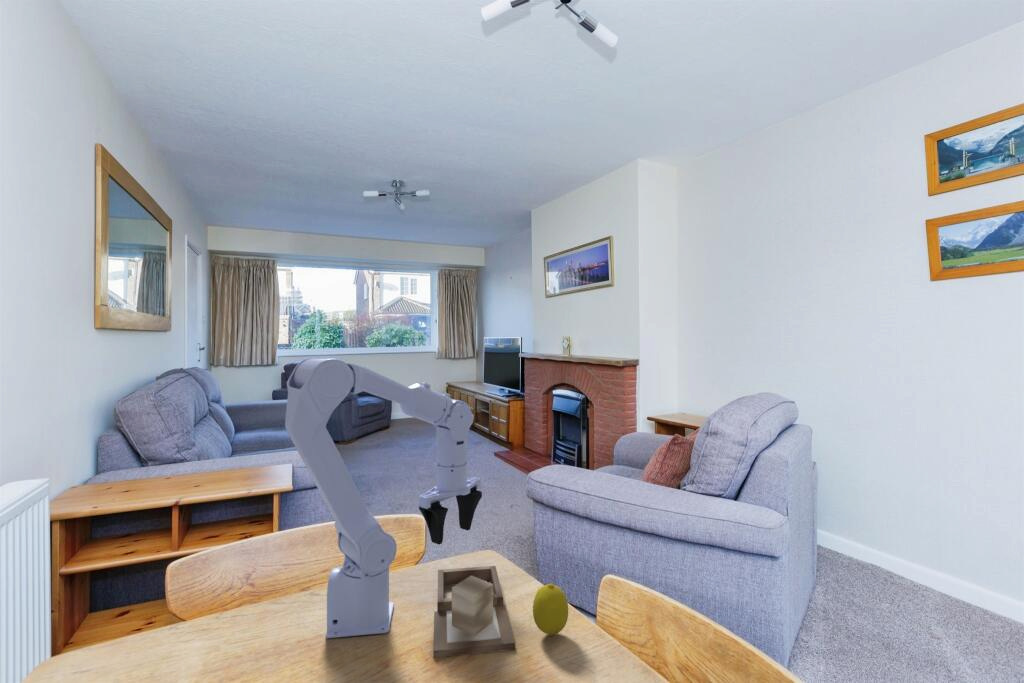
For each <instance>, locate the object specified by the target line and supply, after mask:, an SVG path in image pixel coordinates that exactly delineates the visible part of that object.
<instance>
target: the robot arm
mask: <svg viewBox="0 0 1024 683" xmlns="http://www.w3.org/2000/svg"><path fill="white" fill-rule="evenodd" d="M286 388H287V400H286V401H287V402H286V411H285V420H284V427H285V431H286V432H287V434H288V436H289V438H290V440H291V441H292V443H293V446H294V447H295V449H296V451H297V453H298V454H299V456H300V458H301V460H302V462H303V464H304V465H305V468H306V469H307V471H308V472H309V475H310V477H311V479H312V480H313V483H314V484H315V486H316V488H317V489H318V492H319V493H320V495H321V497H322V499H323V501H324V502H325V504H326V507H327V509H328V510H329V512H330V514H331V516H332V517H333V520H334V524H333V526H334V528H335V530H336V533H337V546H338V549H339V551H340V552H341V553H342V554H343V555H344V561H343V565H342V566H338V567H333V568H332V569H331V570H330V572H329V578H328V580H327V591H326V632H325V638H326V639H333V638H342V637H343V638H344V637H354V636H364V635H365V636H366V635H376V634H378V635H379V634H387V633H388V632H389V631H390V628H391V623H392V616H393V612H394V611H393V610H394V602H392V601H390V566H391V565H392V563H393V561H394V560H395V557H396V555H397V550H398V548H397V546H398V545H397V542H396V539H395V538H394V537H393V535H391V534H390V533H388V532H387V531H385V530H384V529H383V528H382V525H381V524H380V522H379V521H378V520H377V519H376V517H375V516H374V515H373V513H372V512H371V511H370V510H369V509H368V507H367V505H366V503H365V500H364V499H363V497H362V495H361V493H360V491H359V489H358V487H357V485H356V483H355V481H354V479H353V477H352V476H351V474H350V472H349V469H348V468H347V466H346V464H345V462H344V459H343V458H342V455H341V454H340V451H339V450H338V448H337V445H336V444H335V442H334V440H333V438H332V436H331V435H330V433H329V430H328V428H327V424H328V422H329V419H330V417H331V415H332V414H333V412H334V410H335V409H336V408H338V406H339V405H341V403H342V402H343V401H344V400H345V398H346V397H347V396H348V395H349V394H352V395H357V394H360V393H362V392H365V393H368V394H370V395H374V396H375V397H379V398H382V399H385V400H388V401H391V402H394V403H397V404H399V406H400V408H401V411H402V413H403V414H404V415H406V416H410V417H413V418H415V419H418V420H420V421H423V422H425V423H428V424H431V425H433V426H434V427H435V429H436V440H435V441H436V445H435V446H436V449H435V450H436V456H435V457H436V458H435V460H436V463H435V465H436V466H435V467H436V468H435V469H436V470H435V471H436V474H435V476H436V479H435V480H436V481H435V483H436V485H435V486H433V487H432V488H431V489H429V490H427V491H426V492H425V493H423V494H420V495H419V496H418V509H419V511H420V513H421V514H422V516H423V518H424V521H425V523H426V526H427V528H428V532H429V536H430V540H431V543H434V544H436V545H439V546H440V545H441V544H442V545H443V540H444V526H445V521H446V516H447V513H448V512H449V511H448V510H449V508H447V507H444V506H442V503H441V502H444V501H447V500H448V499H452V498H453V497H455V499H456V503H457V508H458V523H459V528H460V529H462V530H465V531H470V530H471V527H472V524H473V518H474V515H475V512H476V510H477V507H478V504H479V503H480V501H481V499H482V497H483V492H482V491H481V490H478V489H481V477H476V476H471V477H468V437H469V431H470V428H471V426H473V422H474V418H475V415H474V414H473V413H472V410H471V407H470V406H469V404H468V403H467V402H466V401H463V400H458V399H453V398H452V397H451V394H450V393H447V392H443V393H441V392H439V391H437V390H435V389H432V388H431V384H429V383H428V382H427V383H426V382H421V383H413V384H411V385H408V386H406V385H404V384H402V383H400V382H398V381H395V380H393V379H391V378H389V377H387V376H385V375H383V374H380V373H378V372H376V371H374V370H371V369H369V368H366V367H364V366H361V365H359V364H358V365H357V364H354V363H350V362H346V361H343V360H341V359H338V358H327V359H326V358H320V357H313V356H312V357H307V358H306V357H305V358H304V359H302V360H301V361H299V362H298V363H297V364H296V366H295V367H294V368H293V371H292V372H291V374H290V375H289V377H288V380H287V381H286Z"/></svg>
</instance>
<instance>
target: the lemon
mask: <svg viewBox="0 0 1024 683" xmlns="http://www.w3.org/2000/svg"><path fill="white" fill-rule="evenodd" d="M532 615H533V616H532V617H533V621H534V623H535V625H536V626H537V628H538V629H539V630H540V631H541V632H542V633H543V634H545V635H548V636H549V637H552V636H554V635H556V634H558V633H561V632H562V631H563V630H564V628H565V626H566V625H567V622H568V619H569V603H568V600H567V596H566V594H565V593H564V591H563V590H562V589H561V587H559V586H558V585H555V584H553V583H548V584H545V585H542V586H541V587H540V588H539V589H538V590H537V592H535V596H534V599H533V603H532Z"/></svg>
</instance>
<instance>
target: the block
mask: <svg viewBox="0 0 1024 683" xmlns="http://www.w3.org/2000/svg"><path fill="white" fill-rule="evenodd" d="M451 598H452V626H454V627H456V628H458V629H460V630H462V631H464V632H466V633H467V634H469V635H471V636H473V637H474V636H475V635H477V634H478V633H479V632H481V631H482V630H483V629H484V628H486V627H487V626H488V625H490V624H491V623H492V622H493V584H491V582H486V581H484V580H481V579H479V578H476V577H474V576H470V577H468V578H466V579H465V580H463V581H461V582H460V583H458V584H455V585H454V586H453V585H452V587H451Z"/></svg>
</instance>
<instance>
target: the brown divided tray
mask: <svg viewBox="0 0 1024 683" xmlns="http://www.w3.org/2000/svg"><path fill="white" fill-rule="evenodd" d="M470 576H474V577H476V578H479V579H481V580H484V581H491V582H490V583H491V584H493V622H492V623H491V624H490V625H488V626H487V627H486V628H484V629H483V630H482V631H481V632H479V633H478V634H477V635H475V636H474V637H473V636H471V635H469V634H467V633H466V632H464V631H462V630H460V629H458V628H456V627H454V626H452V597H446V598H444V586H452V585H451V584H455V585H457V584H458V583H460V582H461V581H463V580H465V579H466V578H468V577H470ZM436 601H437V602H436V604H437V608H436V610H437V611H434V612H433V615H434V616H433V644H432V645H433V649H432V650H433V651H432V652H433V653H432V656H433V657H432V658H442V657H453V656H462V655H464V656H465V655H473V654H474V655H475V654H484V653H493V652H504V651H513V650H516V641H515V636H514V633H513V628H512V625H511V622H510V621H511V620H510V617H509V613H508V609H507V608H508V607H507V605H504V596H503V590H502V587H501V583H500V579H499V574H498V571H497V566H496V565H490V566H489V565H487V566H475V567H462V568H461V567H460V568H459V567H457V568H443V569H437V600H436Z"/></svg>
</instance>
